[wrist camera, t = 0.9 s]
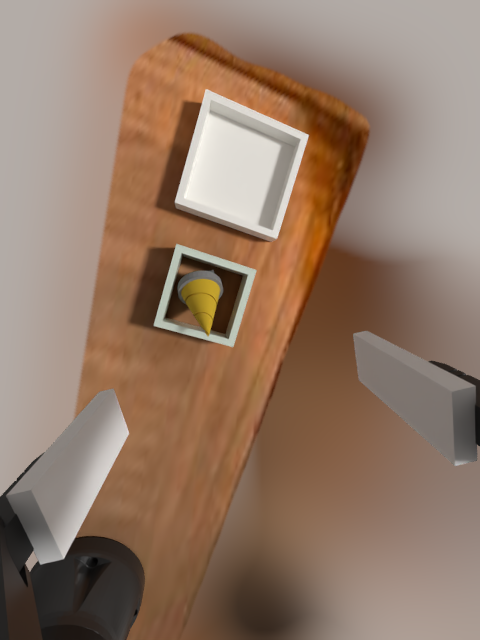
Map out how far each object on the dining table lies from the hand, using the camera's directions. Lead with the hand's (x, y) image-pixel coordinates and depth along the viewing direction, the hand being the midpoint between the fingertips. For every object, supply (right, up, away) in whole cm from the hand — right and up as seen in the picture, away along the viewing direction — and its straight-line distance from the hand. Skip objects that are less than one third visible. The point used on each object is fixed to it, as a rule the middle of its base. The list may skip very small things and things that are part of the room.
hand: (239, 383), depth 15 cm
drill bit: (-5, +6, +21) cm, 23 cm away
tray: (0, +21, +20) cm, 29 cm away
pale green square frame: (-4, +6, +21) cm, 22 cm away
